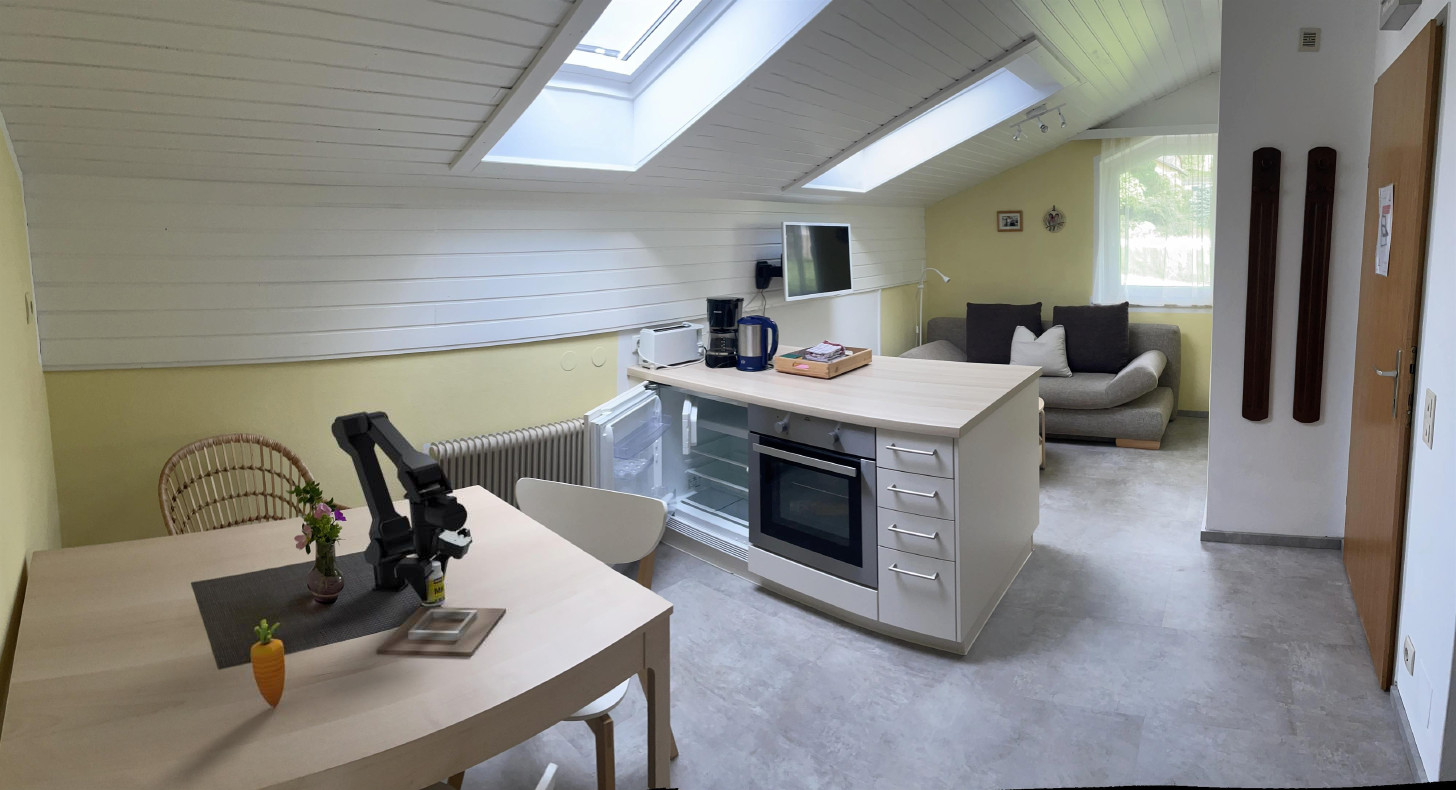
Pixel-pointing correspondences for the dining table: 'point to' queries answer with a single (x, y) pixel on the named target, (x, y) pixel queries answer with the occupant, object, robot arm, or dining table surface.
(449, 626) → the board
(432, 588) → the supplement bottle
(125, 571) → the dining table surface
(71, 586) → the dining table surface
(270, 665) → the carrot
